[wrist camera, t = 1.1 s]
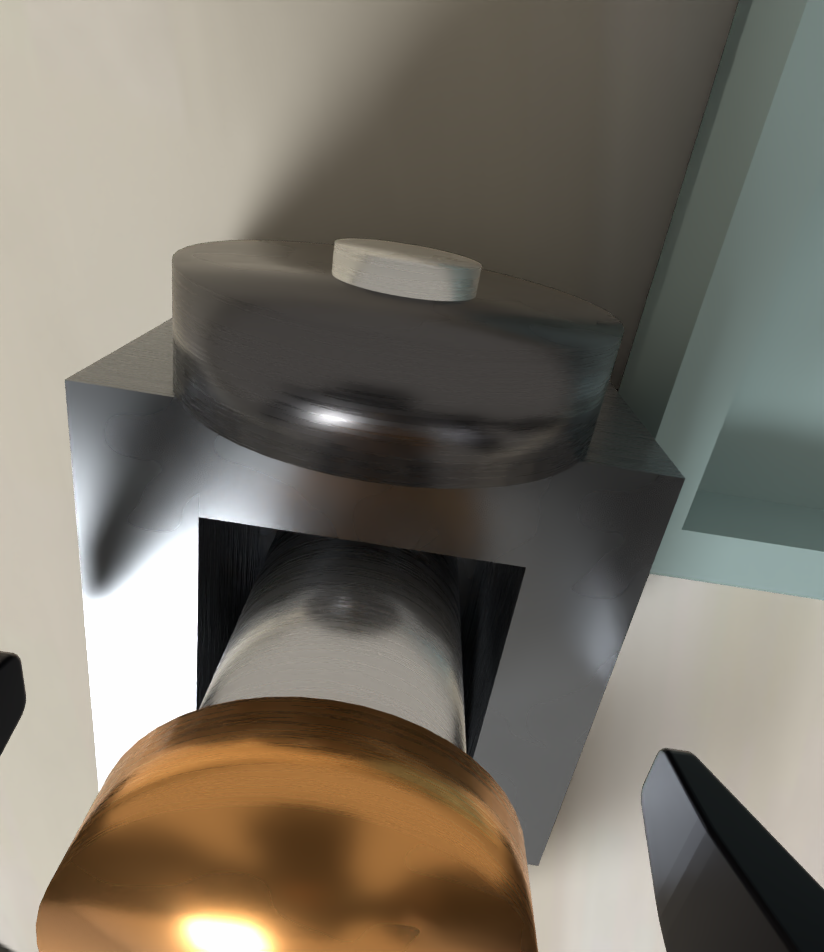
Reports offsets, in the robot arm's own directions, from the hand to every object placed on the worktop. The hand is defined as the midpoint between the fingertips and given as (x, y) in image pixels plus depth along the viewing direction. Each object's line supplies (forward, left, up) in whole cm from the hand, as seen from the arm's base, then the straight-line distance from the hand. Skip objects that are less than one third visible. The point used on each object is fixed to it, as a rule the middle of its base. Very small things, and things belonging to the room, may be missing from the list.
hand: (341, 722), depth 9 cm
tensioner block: (0, 0, -6) cm, 6 cm away
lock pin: (0, 0, -5) cm, 5 cm away
